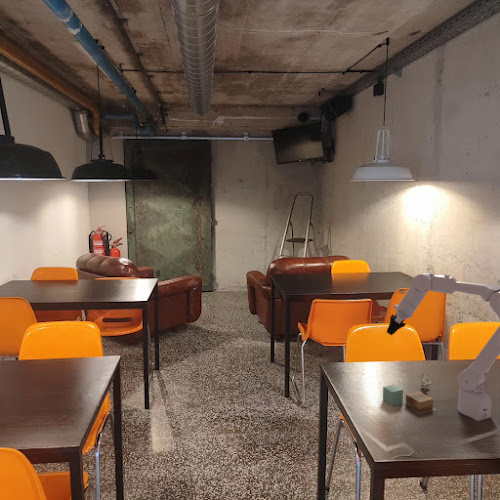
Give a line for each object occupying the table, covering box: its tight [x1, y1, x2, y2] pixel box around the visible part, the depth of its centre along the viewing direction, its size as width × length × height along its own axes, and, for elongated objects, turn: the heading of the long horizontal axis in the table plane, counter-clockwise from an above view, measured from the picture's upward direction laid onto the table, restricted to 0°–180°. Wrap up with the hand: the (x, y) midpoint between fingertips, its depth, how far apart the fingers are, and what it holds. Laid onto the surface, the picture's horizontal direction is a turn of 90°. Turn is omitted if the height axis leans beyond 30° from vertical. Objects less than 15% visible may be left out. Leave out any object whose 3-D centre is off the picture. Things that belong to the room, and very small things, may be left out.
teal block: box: [382, 384, 404, 407], centre depth 146 cm, size 5×5×5 cm
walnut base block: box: [405, 391, 434, 412], centre depth 143 cm, size 6×6×4 cm
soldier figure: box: [419, 371, 434, 391], centre depth 160 cm, size 8×5×12 cm
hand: (391, 329), depth 158 cm, fingers open, 7 cm apart
